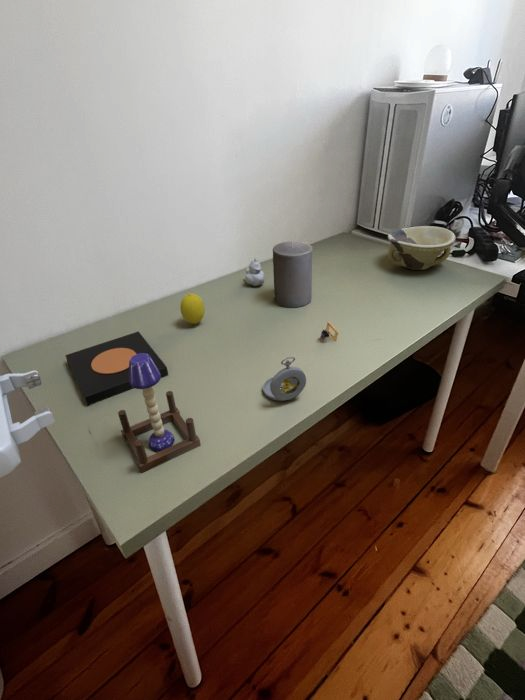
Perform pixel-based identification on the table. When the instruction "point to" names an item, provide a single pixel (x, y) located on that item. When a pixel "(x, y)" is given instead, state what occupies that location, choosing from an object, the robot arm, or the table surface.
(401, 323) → the table surface
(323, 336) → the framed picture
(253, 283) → the rubber duck
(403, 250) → the bowl
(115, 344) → the stove
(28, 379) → the robot arm
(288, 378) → the pocket watch
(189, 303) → the lemon
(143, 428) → the rack
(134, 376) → the toy lamp
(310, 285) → the pillar candle
